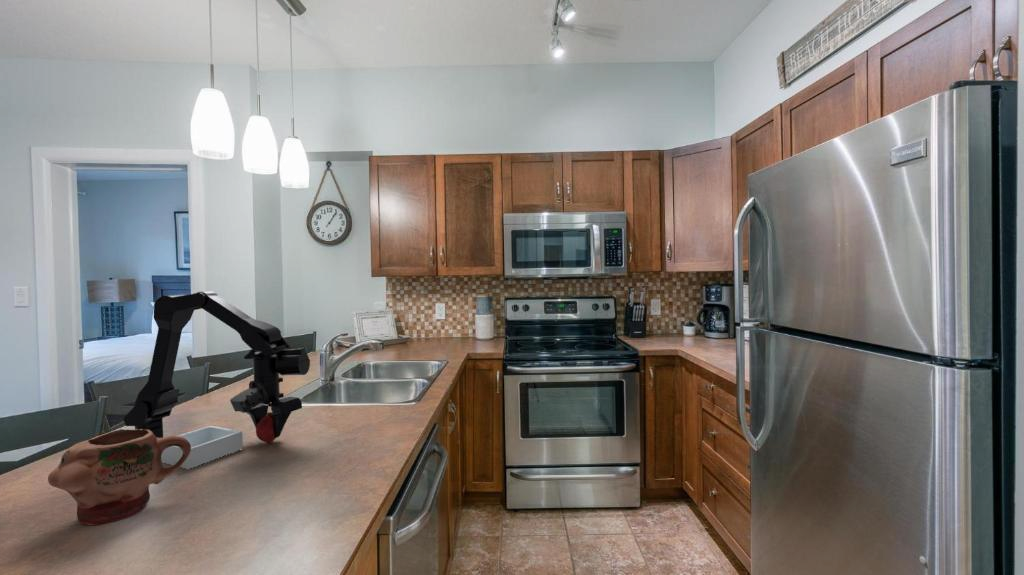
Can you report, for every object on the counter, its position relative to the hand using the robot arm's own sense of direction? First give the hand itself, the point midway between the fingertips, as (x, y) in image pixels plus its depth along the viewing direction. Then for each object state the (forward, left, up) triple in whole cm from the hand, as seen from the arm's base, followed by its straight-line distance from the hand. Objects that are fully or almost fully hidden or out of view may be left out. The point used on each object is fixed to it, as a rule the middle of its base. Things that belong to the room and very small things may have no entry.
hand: (268, 435), depth 115 cm
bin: (-9, -11, -2) cm, 15 cm away
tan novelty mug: (+5, -33, -2) cm, 33 cm away
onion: (0, 0, -2) cm, 2 cm away
